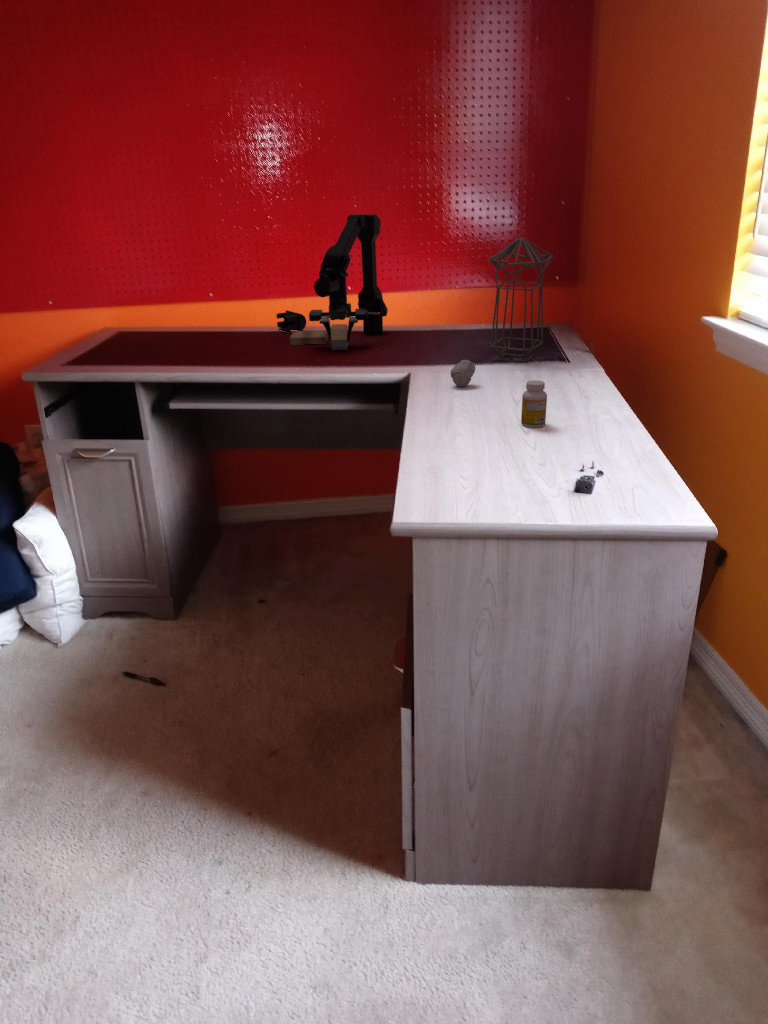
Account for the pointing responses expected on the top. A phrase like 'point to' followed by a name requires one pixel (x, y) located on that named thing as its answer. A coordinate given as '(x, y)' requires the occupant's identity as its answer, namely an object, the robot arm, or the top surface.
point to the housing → (339, 336)
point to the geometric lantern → (510, 249)
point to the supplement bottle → (534, 405)
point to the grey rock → (462, 373)
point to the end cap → (291, 321)
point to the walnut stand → (308, 337)
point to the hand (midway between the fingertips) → (339, 341)
